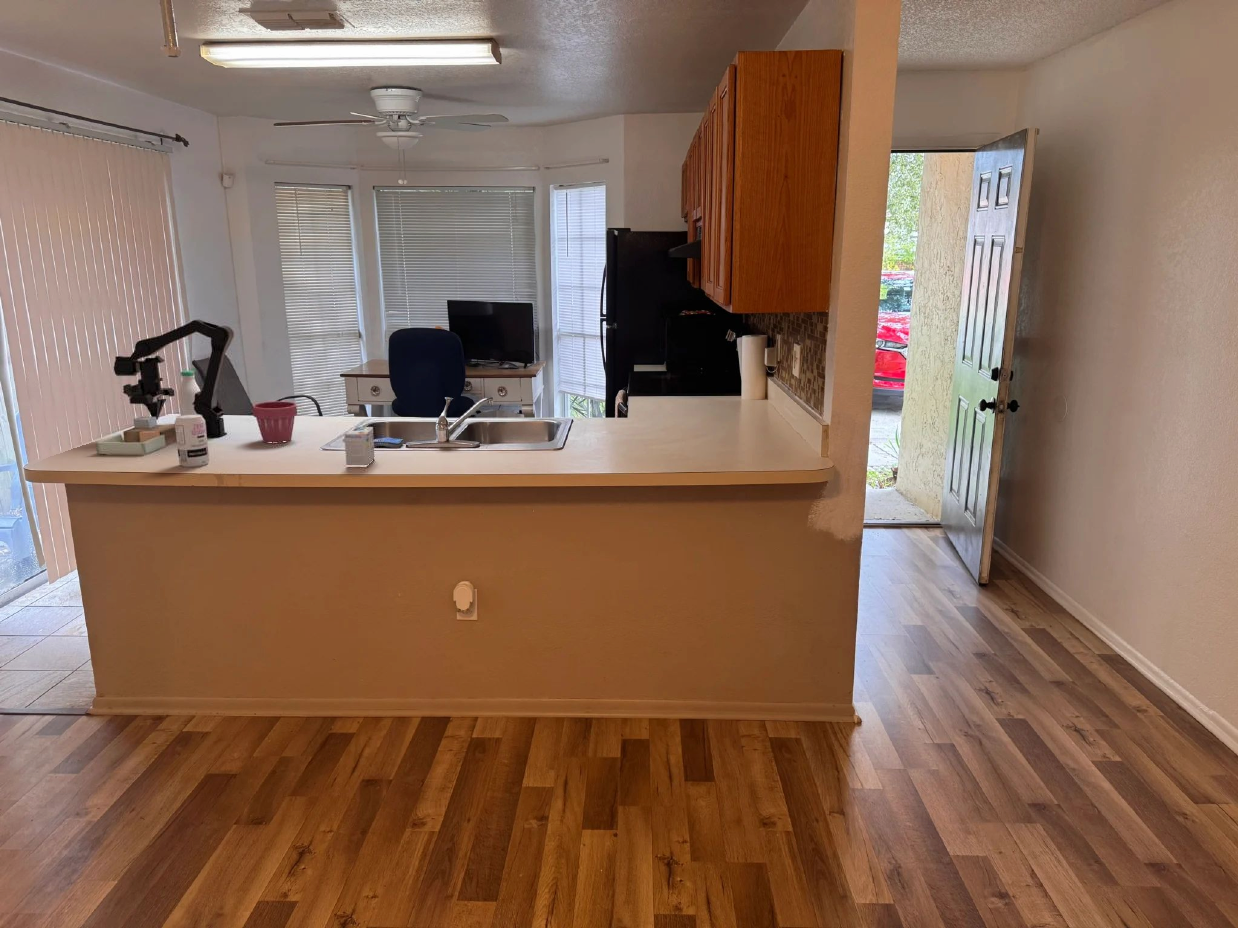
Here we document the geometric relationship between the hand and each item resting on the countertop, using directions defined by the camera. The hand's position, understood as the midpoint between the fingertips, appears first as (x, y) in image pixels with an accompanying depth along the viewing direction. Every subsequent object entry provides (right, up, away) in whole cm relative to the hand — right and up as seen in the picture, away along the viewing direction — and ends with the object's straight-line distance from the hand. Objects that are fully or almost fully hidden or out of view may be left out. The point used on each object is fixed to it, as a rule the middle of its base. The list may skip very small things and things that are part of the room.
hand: (155, 420), depth 295 cm
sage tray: (+3, -11, -19) cm, 22 cm away
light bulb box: (+82, -15, -32) cm, 89 cm away
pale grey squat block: (0, -3, -6) cm, 7 cm away
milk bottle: (0, 0, +26) cm, 26 cm away
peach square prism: (+7, -7, -14) cm, 17 cm away
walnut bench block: (+4, -8, -7) cm, 11 cm away
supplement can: (+32, -16, -36) cm, 51 cm away
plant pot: (+43, -7, -2) cm, 44 cm away
